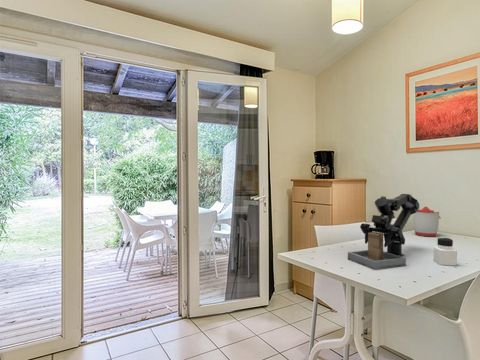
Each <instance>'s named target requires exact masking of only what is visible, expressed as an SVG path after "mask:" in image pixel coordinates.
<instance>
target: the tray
mask: <svg viewBox="0 0 480 360" xmlns="http://www.w3.org/2000/svg"><path fill="white" fill-rule="evenodd" d="M406 259H407V258H406V257H403V256H397V255H394V254H390V253H387V251H384V250H383V260H379V261H374V260H371V259H368V249H365V250H363V249H362V250H354V251H353V250H352V251H347V260H348V261H352V262H354V263H356V264H359V265H361V266H363V267H366V268H369V269H372V270H373V271H375V270H383V269H384V270H385V269H392V268H397V267H399V268H400V267H405V266H406V265H407V264H406V262H407V260H406Z"/></svg>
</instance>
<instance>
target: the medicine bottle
mask: <svg viewBox="0 0 480 360" xmlns="http://www.w3.org/2000/svg"><path fill="white" fill-rule="evenodd" d="M453 244H454V240H453V239H452V238H449V237H438V238H437V246H433V262H435V263H436V264H438V265H440V266H452V267H453V266H455V267H456V266H457V263H458V262H457V260H458V259H457V255H458V254H457V253H458V252H457V250H456V249H455V248H454V247H453V246H454V245H453Z"/></svg>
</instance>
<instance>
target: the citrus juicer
mask: <svg viewBox="0 0 480 360" xmlns="http://www.w3.org/2000/svg"><path fill="white" fill-rule="evenodd" d="M412 215H413V216H412V221H413V222H412V224H413V225H412V226H413V230H414V232H415V233H414V234H415V235H417V236H421V237H436V235H438V230H439V225H440V222H439V220H440V219H442V217H441V216H440V211H437V212H436V211H435V210H431V209H430V208H429V207H428V206H424V207H423V208H422V209H418V211H417V212H416V213H414V214H412Z"/></svg>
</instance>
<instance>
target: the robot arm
mask: <svg viewBox="0 0 480 360" xmlns="http://www.w3.org/2000/svg"><path fill="white" fill-rule="evenodd" d="M374 205H375V206H376V209H377V211H378V213H380V215H376V214H375V215H374V214H373V215H372V217H371V222H372V223H373V226H371V225H370V223H364V222H363V223H361V224H360V226H359V228H360V230H361V231H362V233H363V234H364V244H366V245H368V233H371V232H377V233H383V241H384V243H383V248H387V249H386V250H387V251H386V252H387V253H390V254H394V255H397V256H400V257H402V256H405V254H404V253H402V245H405V243H406V238H405V236H404V233H403V229H404V228H405V226H406V224H407V223H408V221H409V218H410V217H411V216H412V215H413V214H414V213H416V212H417V211H418V210H420V202H419V201H418V199H416V198H414V197H413V196H412V195H411V194H410V193H401V194H400V195H398V196H396V197H394V198H387V197H386V196H383V195H382V196H380V197H379V198H377V199H376V200H375V201H374ZM400 209H401V211H400V213H399V214H398V216H397V218H395V217H396V216H395V212H398V211H399V210H400ZM393 219H396V220H395V221H394V223H393V224H392V221H393Z"/></svg>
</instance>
